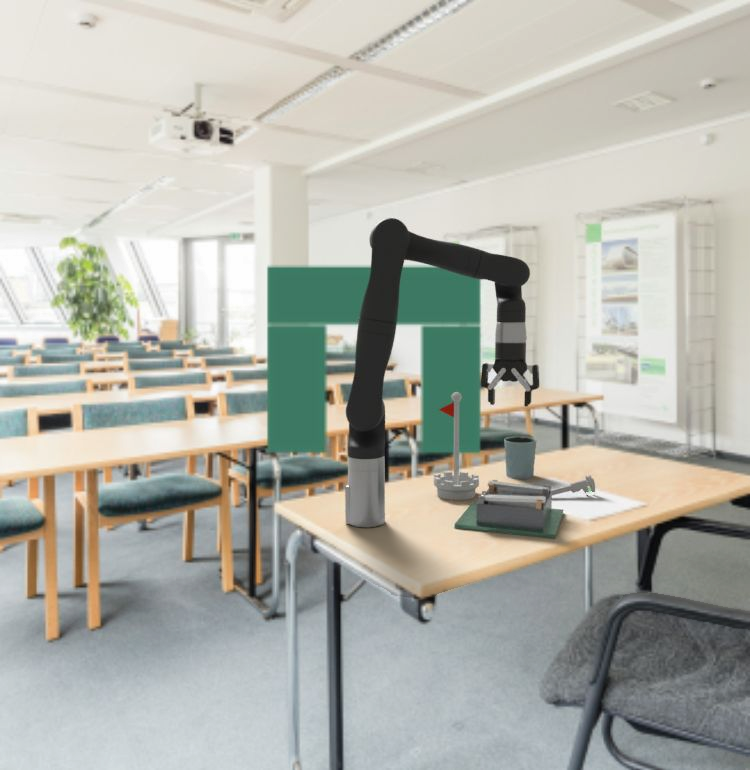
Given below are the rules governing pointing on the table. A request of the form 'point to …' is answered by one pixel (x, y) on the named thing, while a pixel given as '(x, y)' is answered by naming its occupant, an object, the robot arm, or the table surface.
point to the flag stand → (455, 464)
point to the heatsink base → (472, 524)
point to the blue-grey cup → (520, 457)
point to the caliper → (576, 486)
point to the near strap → (514, 498)
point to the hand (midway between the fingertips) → (509, 405)
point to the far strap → (517, 486)
